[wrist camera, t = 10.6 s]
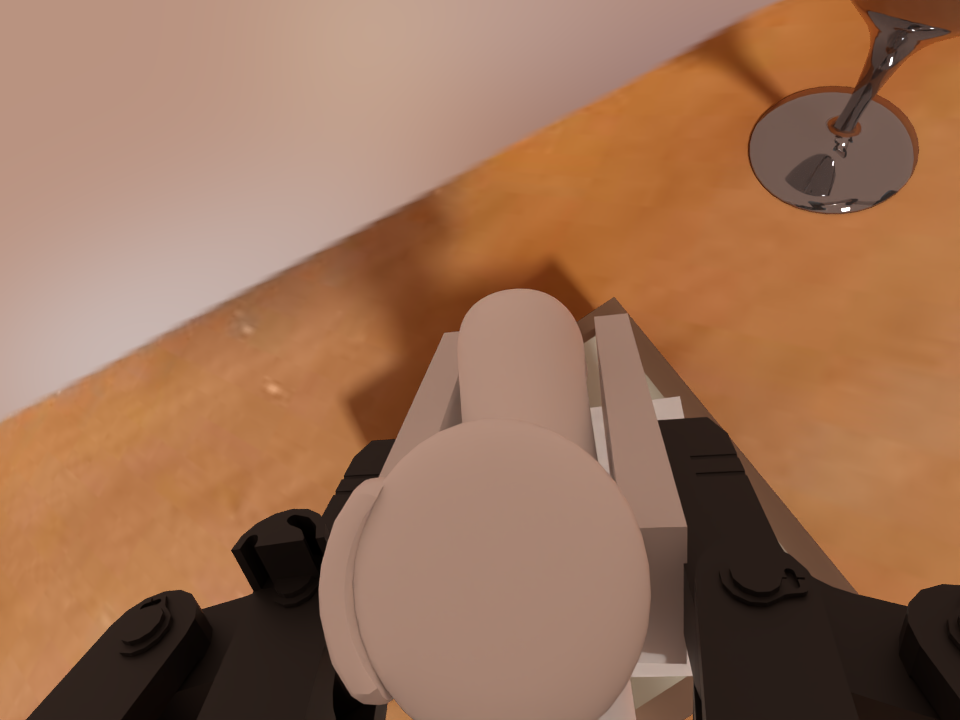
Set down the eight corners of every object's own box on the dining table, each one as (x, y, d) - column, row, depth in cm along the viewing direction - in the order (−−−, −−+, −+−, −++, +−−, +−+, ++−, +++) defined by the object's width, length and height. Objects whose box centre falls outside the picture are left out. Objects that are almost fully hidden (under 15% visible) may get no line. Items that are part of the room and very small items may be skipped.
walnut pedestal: (612, 330, 25) (614, 293, 21) (817, 587, 20) (870, 604, 16) (386, 481, 25) (345, 474, 21) (535, 768, 20) (518, 830, 16)
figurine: (663, 388, 19) (778, 42, 5) (720, 682, 16) (1332, 1692, 2) (473, 413, 21) (167, 199, 7) (494, 685, 18) (32, 1301, 4)
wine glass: (972, 162, 23) (1529, -377, 9) (810, 252, 24) (1108, -132, 10) (848, 53, 26) (1131, -488, 12) (706, 135, 27) (820, -293, 13)
